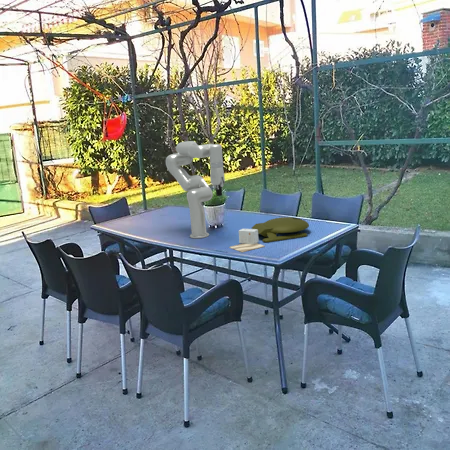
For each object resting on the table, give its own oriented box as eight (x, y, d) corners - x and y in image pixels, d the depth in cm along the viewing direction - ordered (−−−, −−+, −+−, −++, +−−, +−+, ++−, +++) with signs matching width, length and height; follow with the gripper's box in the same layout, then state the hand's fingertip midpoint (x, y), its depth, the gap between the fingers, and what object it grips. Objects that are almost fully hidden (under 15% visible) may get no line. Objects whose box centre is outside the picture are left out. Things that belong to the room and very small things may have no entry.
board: (229, 247, 280) (229, 246, 279) (251, 242, 287) (251, 241, 287) (242, 252, 268) (241, 251, 268) (265, 246, 275) (265, 245, 275)
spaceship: (263, 244, 283) (262, 228, 281) (248, 232, 312) (247, 218, 310) (317, 235, 291) (317, 220, 289) (297, 225, 320) (296, 211, 318)
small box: (243, 240, 290) (258, 242, 285) (239, 243, 285) (254, 244, 280) (242, 228, 288) (258, 229, 283) (238, 230, 283) (254, 231, 278)
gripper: (205, 165, 287) (207, 195, 291) (217, 166, 274) (220, 198, 279) (216, 164, 291) (218, 193, 295) (228, 165, 278) (230, 196, 282)
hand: (219, 195), depth 287 cm, fingers closed
